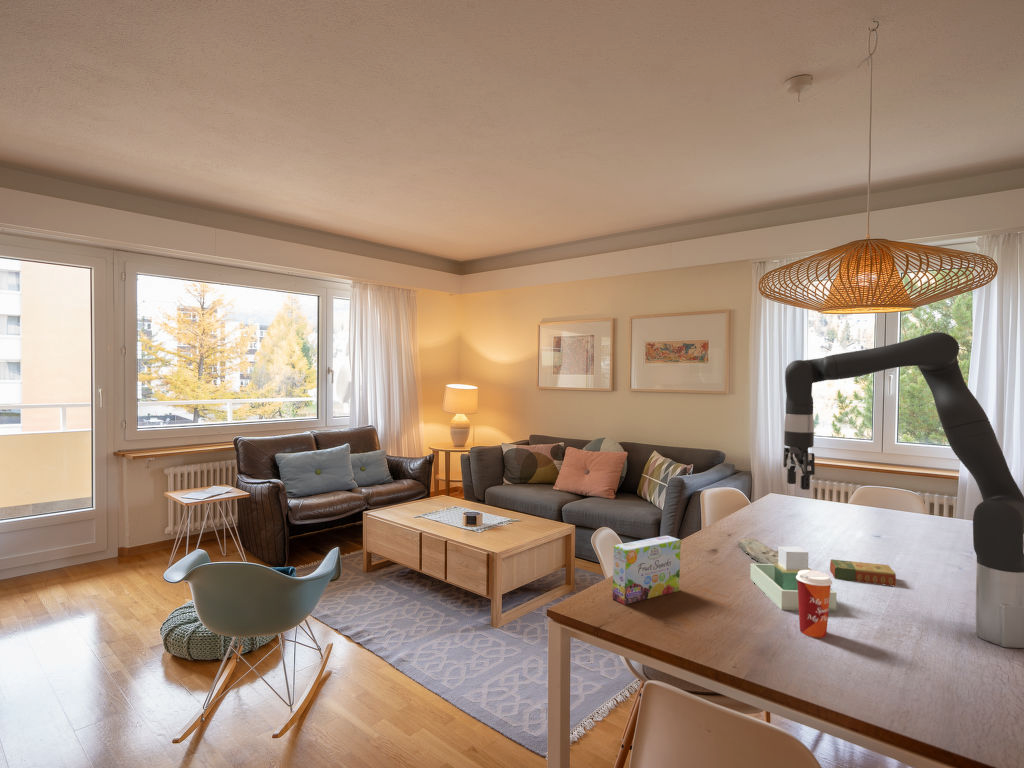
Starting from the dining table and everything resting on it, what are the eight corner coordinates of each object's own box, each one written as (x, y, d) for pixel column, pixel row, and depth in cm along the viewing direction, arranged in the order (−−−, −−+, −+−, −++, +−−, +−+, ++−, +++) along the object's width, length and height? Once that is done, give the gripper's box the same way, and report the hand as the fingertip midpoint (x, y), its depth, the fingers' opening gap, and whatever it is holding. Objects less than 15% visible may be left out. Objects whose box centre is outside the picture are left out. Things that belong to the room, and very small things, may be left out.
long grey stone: (758, 548, 206) (731, 550, 206) (757, 534, 206) (730, 535, 207) (807, 577, 171) (774, 578, 171) (806, 559, 171) (773, 561, 172)
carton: (896, 587, 165) (896, 573, 165) (834, 580, 171) (834, 566, 171) (888, 578, 173) (888, 564, 173) (829, 571, 179) (829, 557, 179)
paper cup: (816, 642, 129) (817, 581, 129) (787, 628, 136) (788, 571, 136) (839, 636, 132) (840, 577, 132) (810, 623, 139) (811, 567, 139)
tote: (836, 611, 146) (836, 592, 146) (781, 609, 147) (781, 590, 147) (797, 581, 168) (798, 564, 168) (750, 579, 169) (750, 563, 169)
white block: (808, 570, 155) (808, 552, 155) (786, 569, 155) (786, 551, 155) (799, 564, 160) (799, 546, 160) (778, 563, 160) (778, 546, 160)
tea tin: (813, 596, 154) (813, 571, 154) (782, 595, 155) (782, 570, 155) (803, 588, 160) (803, 564, 160) (773, 588, 161) (773, 563, 160)
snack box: (626, 606, 149) (626, 549, 148) (611, 599, 153) (612, 544, 153) (680, 591, 160) (681, 538, 160) (665, 584, 165) (666, 533, 164)
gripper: (824, 432, 153) (823, 491, 153) (800, 428, 167) (800, 482, 167) (796, 432, 153) (795, 491, 153) (775, 427, 168) (774, 481, 168)
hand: (798, 486), depth 160 cm, fingers open, 8 cm apart
